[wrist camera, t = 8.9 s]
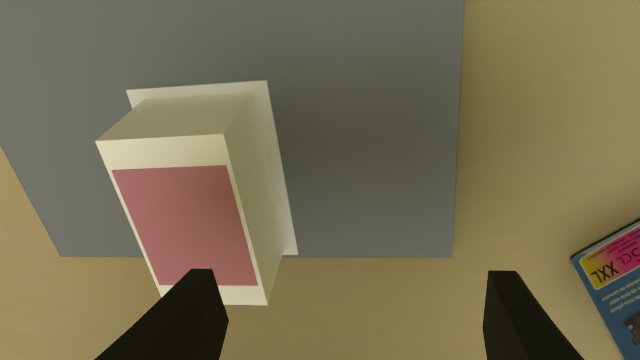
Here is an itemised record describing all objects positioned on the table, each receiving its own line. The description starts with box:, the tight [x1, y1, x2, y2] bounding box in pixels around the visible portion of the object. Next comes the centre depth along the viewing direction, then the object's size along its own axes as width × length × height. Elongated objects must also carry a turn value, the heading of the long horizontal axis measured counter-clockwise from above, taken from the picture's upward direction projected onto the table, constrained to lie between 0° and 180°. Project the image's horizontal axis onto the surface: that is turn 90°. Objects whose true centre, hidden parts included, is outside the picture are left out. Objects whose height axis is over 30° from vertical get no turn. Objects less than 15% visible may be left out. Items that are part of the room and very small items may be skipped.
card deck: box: [95, 92, 285, 305], centre depth 20 cm, size 5×8×4 cm, turn 7°
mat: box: [0, 0, 464, 258], centre depth 20 cm, size 18×22×1 cm
